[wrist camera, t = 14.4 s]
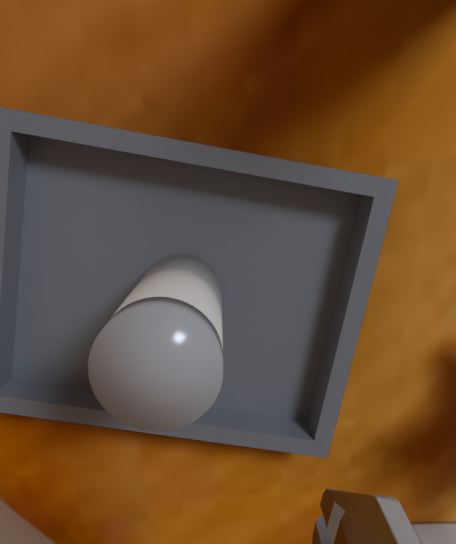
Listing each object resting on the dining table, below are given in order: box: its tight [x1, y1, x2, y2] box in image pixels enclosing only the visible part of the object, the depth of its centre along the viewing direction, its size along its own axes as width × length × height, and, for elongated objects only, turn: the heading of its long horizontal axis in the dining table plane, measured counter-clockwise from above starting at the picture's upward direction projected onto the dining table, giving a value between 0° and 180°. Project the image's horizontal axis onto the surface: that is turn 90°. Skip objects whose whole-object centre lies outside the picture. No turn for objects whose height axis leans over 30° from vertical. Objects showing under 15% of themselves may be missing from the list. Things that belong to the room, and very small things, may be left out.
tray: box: [0, 107, 398, 458], centre depth 24 cm, size 20×16×3 cm
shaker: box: [88, 253, 223, 432], centre depth 19 cm, size 5×5×10 cm
